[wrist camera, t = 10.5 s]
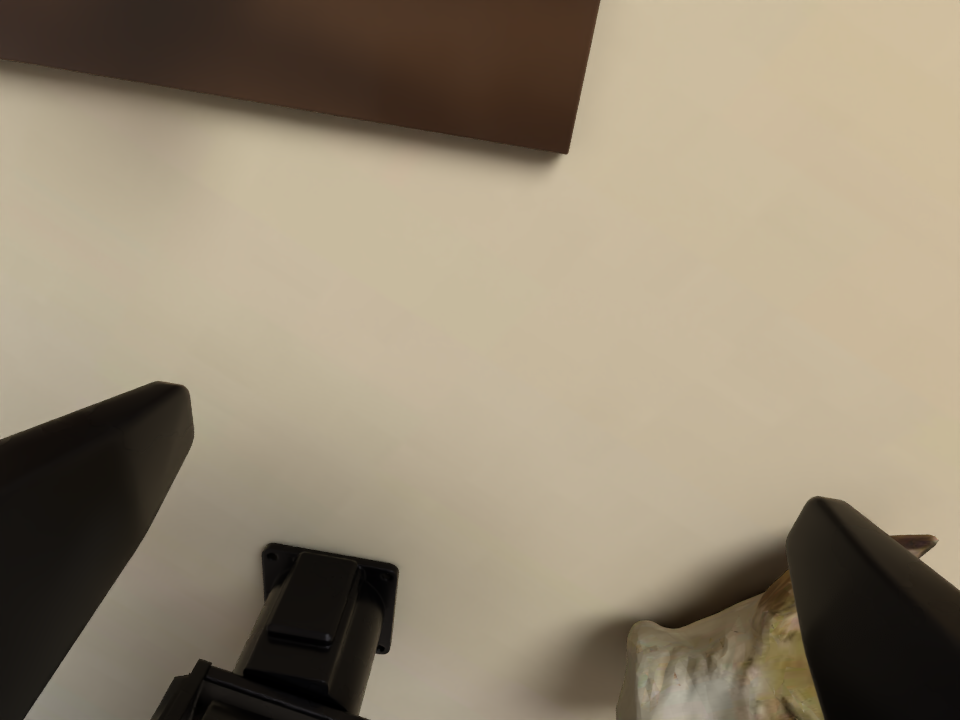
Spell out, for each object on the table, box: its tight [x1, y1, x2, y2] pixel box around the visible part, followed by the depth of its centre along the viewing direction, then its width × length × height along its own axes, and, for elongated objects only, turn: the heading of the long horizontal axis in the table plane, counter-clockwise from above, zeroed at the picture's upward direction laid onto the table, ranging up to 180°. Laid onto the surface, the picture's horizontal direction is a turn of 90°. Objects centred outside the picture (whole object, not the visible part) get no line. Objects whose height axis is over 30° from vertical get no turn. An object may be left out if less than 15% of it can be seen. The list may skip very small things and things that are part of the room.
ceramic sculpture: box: [616, 535, 938, 720], centre depth 25 cm, size 11×9×15 cm
